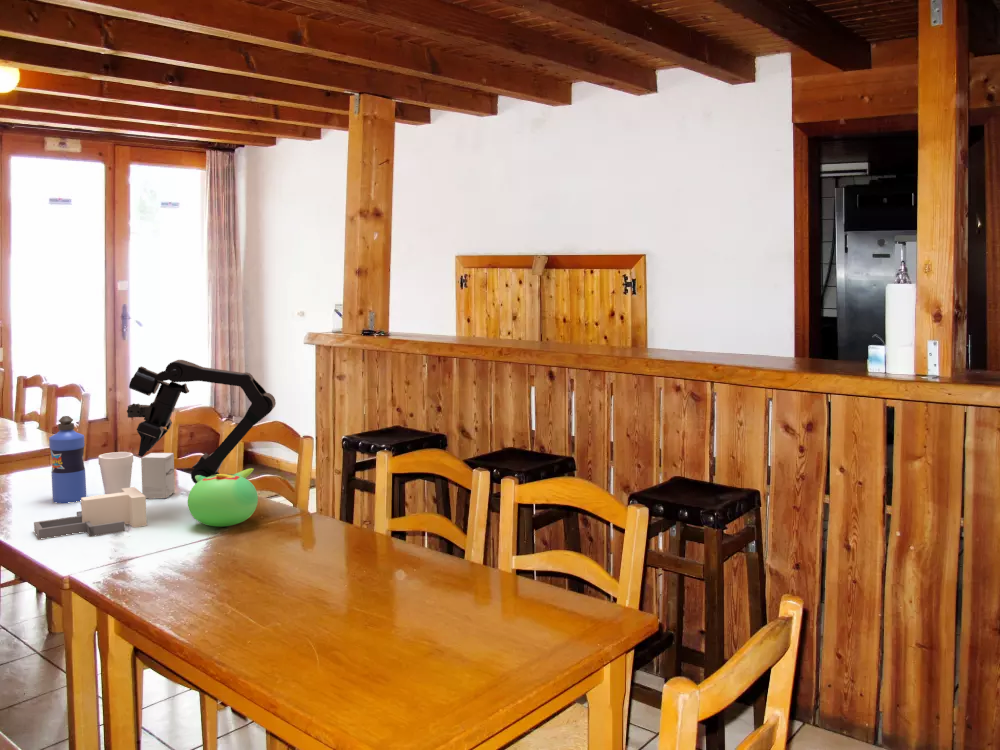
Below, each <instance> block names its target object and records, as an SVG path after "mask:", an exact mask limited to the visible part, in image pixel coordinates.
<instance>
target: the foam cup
mask: <svg viewBox="0 0 1000 750" xmlns="http://www.w3.org/2000/svg"><path fill="white" fill-rule="evenodd" d="M97 459H98V465H99V469H100V473H101V474H100V475H101V479H102V485H103V491H104V495H105V494H113V493H121V489H123V488H131V484H132V482H131V481H132V471H133V463H134V454H133V453H132V452H129V451H128V452H127V451H118V452H117V451H116V452H115V451H114V452H107V453H103V454H99V455H98V458H97Z"/></svg>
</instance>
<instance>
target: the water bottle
mask: <svg viewBox="0 0 1000 750" xmlns="http://www.w3.org/2000/svg"><path fill="white" fill-rule="evenodd" d="M73 421H74V419H73V418H72V417H71V416H70V415H64V416H61V417H60V419H58V422H59V423H58V424H57V425H58V427H57V429H58V430H59V431H57V432H56V433H54V434H53V435H51V436H49V437H48V439H49V440H48V441H49V442H48V443H49V444H48V445H49V450H50V454H51V460H52V462H51V463H52V466H51V488H52V489H51V490H52V491H51V493H52V494H51V495H52V502H53V503H55V502H57V503H56V504H69V503H68V502H74V503H77V502H76V501H79V502H81V501H80V500H81V498H82V497H87V481H86V480H87V477H86V467H85V463H84V454H85V453H84V451H85V435H84V433H83V434H82V433H79V432H76V430H74V429H75V423H73Z"/></svg>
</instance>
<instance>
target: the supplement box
mask: <svg viewBox="0 0 1000 750" xmlns="http://www.w3.org/2000/svg"><path fill="white" fill-rule="evenodd" d="M174 455H175V454H174V452H150V453H148V454H145V455H144V456H143V457H141V458H140V459H141V461H140V463H141V493H142V494H144V495H145V496H146V499H154V498H166V499H167V498H168V497H170V496H171V495H173V494H175V493H174V492H176V491H175V489H176V487H175V485H176V484H175V482H176V481H175V456H174ZM172 493H173V494H172ZM169 495H170V496H169Z"/></svg>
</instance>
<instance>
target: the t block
mask: <svg viewBox="0 0 1000 750" xmlns="http://www.w3.org/2000/svg"><path fill="white" fill-rule="evenodd" d="M146 499H147V498H146V496H145V495H144V494H142V491H140V490H139V489H137V487H135V486H133V487H132V486H130V488H123V489H121V493H113V494H105V493H104V494H97V495H92V496H86V497H82V498H81V501H80V504H81V506H80V507H81V508H80V509H81V511H82V522H88V521H89V522H90V523H91V524H92V525H100V524H106V523H113V522H120V521H124V522H125V525H130V526H131V527H132V528H137V527H138V528H139V527H144V526H148V525H147V523H148V521H147V500H146Z"/></svg>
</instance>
